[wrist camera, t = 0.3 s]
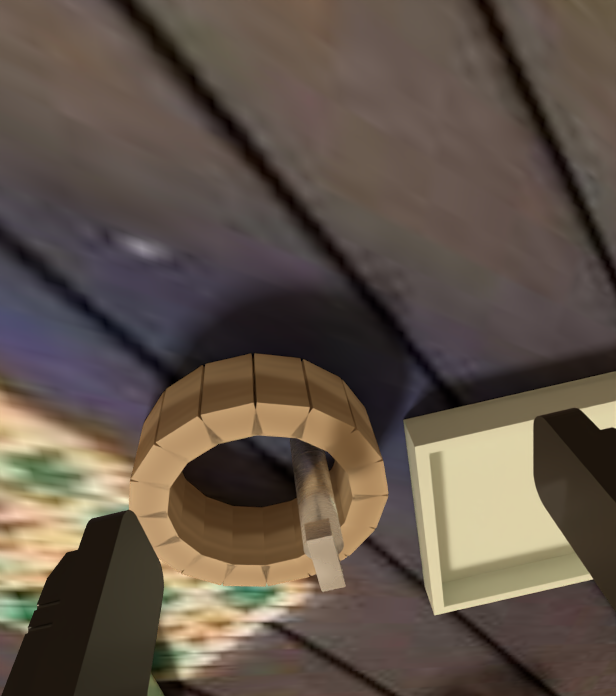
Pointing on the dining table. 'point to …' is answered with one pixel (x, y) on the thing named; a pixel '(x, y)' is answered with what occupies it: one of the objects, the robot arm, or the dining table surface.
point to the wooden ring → (240, 422)
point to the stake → (318, 513)
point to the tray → (493, 496)
